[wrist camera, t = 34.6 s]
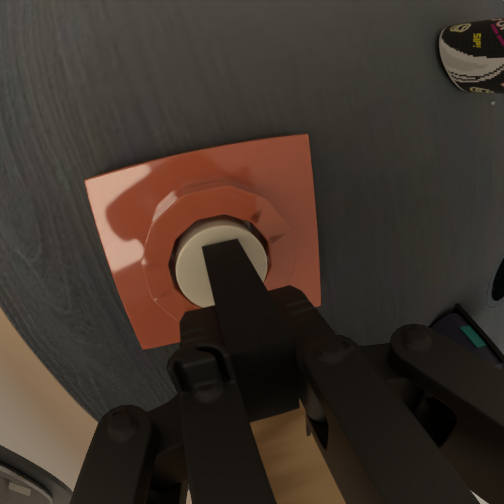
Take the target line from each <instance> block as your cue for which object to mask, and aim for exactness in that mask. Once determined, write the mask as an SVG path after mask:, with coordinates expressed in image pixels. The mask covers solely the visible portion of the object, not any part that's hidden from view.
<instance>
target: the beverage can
mask: <svg viewBox="0 0 504 504" xmlns="http://www.w3.org/2000/svg"><path fill="white" fill-rule="evenodd" d="M439 50H440V56H441V60H442V63H443V65H444V67H445V69H446V72H447V73H448V75H449V77H450V78H451V80H452V81H453V82H454V83H455V84H456V85H457V87H459V88H460V89H461V90H463V91H466V92H483V93H503V94H504V18H500V19H491V20H484V21H477V22H470V23H465V24H459V25H454V26H449V27H446V28H444V29H443V30H442V32H441V34H440V38H439Z"/></svg>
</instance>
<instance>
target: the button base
mask: <svg viewBox="0 0 504 504" xmlns="http://www.w3.org/2000/svg"><path fill="white" fill-rule="evenodd" d="M84 182H85V187H86V191H87V195H88V198H89V202H90V206H91V210H92V213H93V217H94V220H95V224H96V227H97V231H98V234H99V237H100V240H101V244H102V247H103V250H104V253H105V256H106V259H107V262H108V265H109V268H110V270H111V273H112V276H113V279H114V282H115V284H116V287H117V290H118V292H119V295H120V297H121V300H122V302H123V305H124V308H125V310H126V312H127V315H128V317H129V320H130V322H131V324H132V327H133V329H134V331H135V334H136V336H137V338H138V340H139V343H140V345H141V347H142V349H143V350H144V349H149V348H155V347H160V346H164V345H169V344H174V343H179V342H180V328H179V322H180V320H181V318H182V316H183V315H184V313H185V312H186V311H191V310H195V309H200V308H203V307H201V306H198V305H196V304H195V303H193V302H192V301H190V300H189V299H188V298H187V297H186V296H185V295H184V293H183V292H182V291H181V289H180V287H179V285H178V282H177V278H176V270H175V252H176V246H177V242H178V239H179V237H180V235H181V234H182V233H183V232H184V231H185V230H186V229H188V228H189V227H190V226H191V225H192V224H193V223H194V222H195V221H196V220H200V219H205V218H209V217H214V216H219V215H223V214H226V215H229V216H232V217H235V218H237V219H239V220H241V221H242V222H243V223H245V224H246V225H247V226H248V227H249V229H250V230H251V231H252V233H253V234H254V235H255V236H256V238H257V239H258V240H259V242H260V243H261V244H262V246H263V248H264V250H265V253H266V257H267V273H266V277H265V280H264V282H263V283H264V285H265V287H266V288H267V290H268V291H269V290H273V289H276V288H280V287H284V286H288V285H291V286H293V287H295V288H297V289H299V290H301V291H303V293H304V294H305V295H306V297H307V298H308V299H309V301H310V302H311V303H312V304H313V306H314V307H318V306H321V286H320V264H319V246H318V231H317V217H316V205H315V193H314V182H313V172H312V163H311V154H310V145H309V137H308V134H285V135H277V136H269V137H262V138H255V139H248V140H242V141H236V142H230V143H224V144H218V145H213V146H208V147H202V148H197V149H193V150H188V151H183V152H178V153H174V154H169V155H165V156H161V157H157V158H153V159H149V160H145V161H141V162H137V163H133V164H129V165H126V166H122V167H118V168H115V169H111V170H108V171H104V172H101V173H98V174H95V175H93V176H91V177H89V178H87V179H85V180H84Z"/></svg>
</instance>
